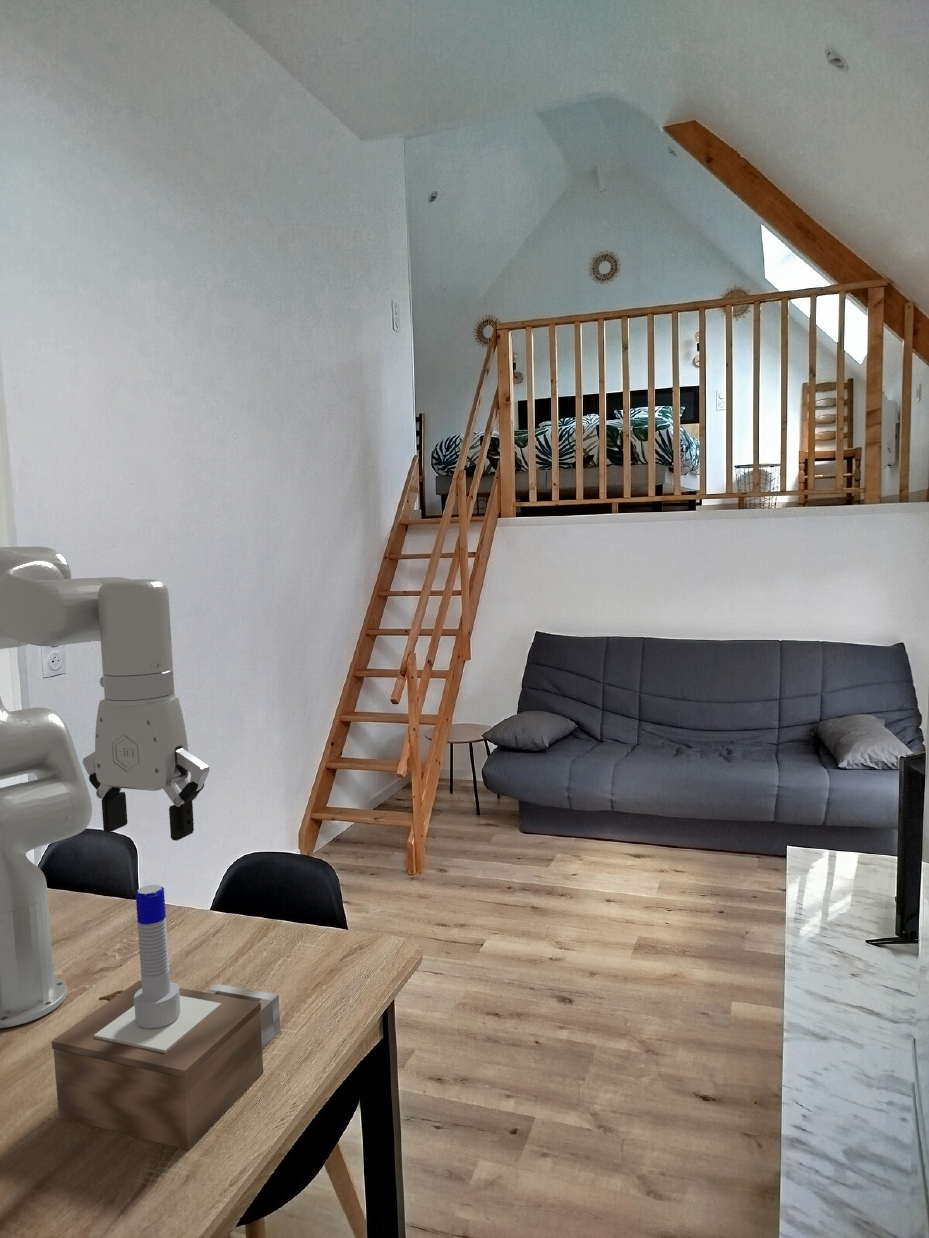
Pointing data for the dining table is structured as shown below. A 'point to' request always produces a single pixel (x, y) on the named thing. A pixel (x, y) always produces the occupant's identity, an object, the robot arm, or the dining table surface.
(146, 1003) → the bolt
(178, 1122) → the wooden box
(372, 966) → the dining table surface
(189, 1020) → the lid mat
